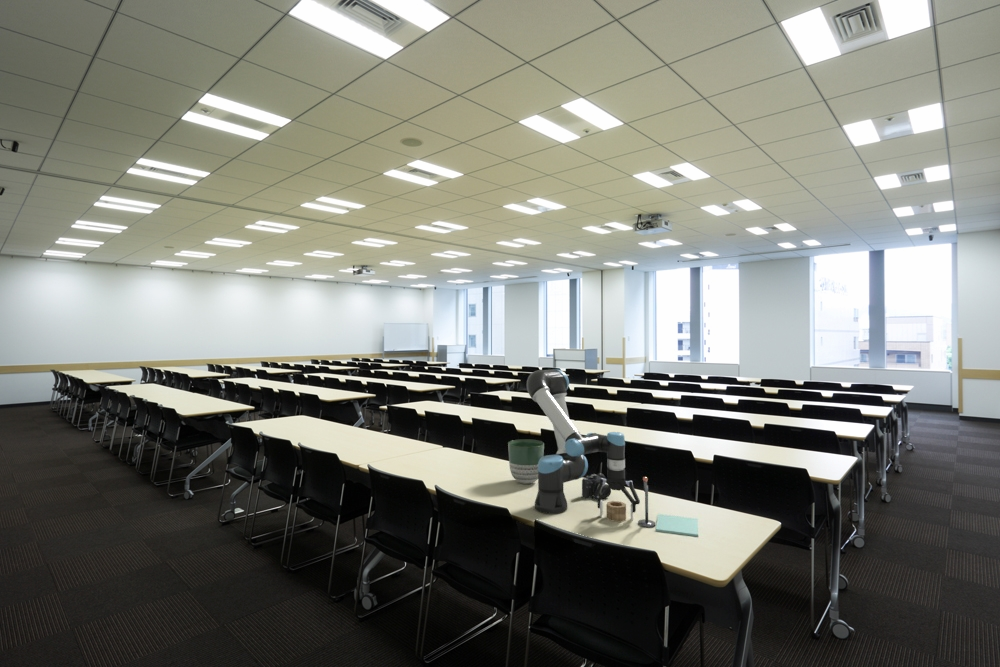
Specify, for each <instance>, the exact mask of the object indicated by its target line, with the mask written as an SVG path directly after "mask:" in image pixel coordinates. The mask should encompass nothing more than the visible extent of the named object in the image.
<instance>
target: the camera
mask: <svg viewBox="0 0 1000 667" xmlns="http://www.w3.org/2000/svg"><path fill="white" fill-rule="evenodd" d="M601 478H604V479H606V476H605V475H604V474H603V473H601V472H598V473H597V474H595V473H593V474H590V475H586V477H584V478H583V477H582V480H581V496H582V498H583V499H588V498H593V497H594V495H595V493H596V491H597V489H598V487H599V484H600V479H601ZM608 486H609V485H608V484H607V483H606V482H605V483H604V484H603V485H602V487H601V489H600V491H599V494H598V497H599V496H600V495H601V494H602V493H603V492H604V490H605V489H606V488H607V487H608ZM611 493H612V489H610V490H609V491H608V492H607V493H606V494H605V496H604V497H603V498H609V496H610V495H611ZM603 498H602V499H603Z"/></svg>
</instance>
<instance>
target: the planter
mask: <svg viewBox="0 0 1000 667" xmlns="http://www.w3.org/2000/svg"><path fill="white" fill-rule="evenodd" d="M507 444H508V445H507V446H508V447H507V448H508V450H507V451H508V461H509V463H508V464H509V471H510V474H511V476H512V478H513V479H515V481H517V482H518V483H520V484H525V485H528V484H533V483H536V481H538V462H539V460H540V458H542V457H544V456H545V455H544V454H545V452H544V450H545V443H544V442H543V441H542V440H538V439H537V440H536V439H515V440H513V439H512V440H510V441H508V442H507Z"/></svg>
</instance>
